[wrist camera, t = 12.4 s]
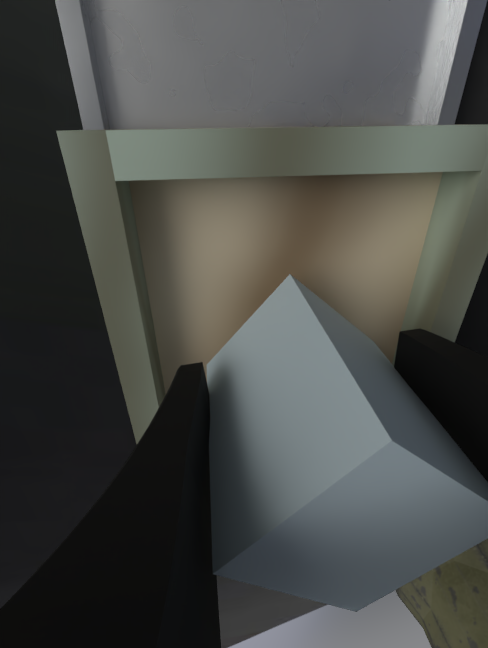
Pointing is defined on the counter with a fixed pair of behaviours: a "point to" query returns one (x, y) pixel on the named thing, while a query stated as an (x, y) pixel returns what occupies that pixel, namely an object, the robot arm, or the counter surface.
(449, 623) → the thermos
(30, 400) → the counter surface
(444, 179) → the shallow open tray
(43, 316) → the counter surface
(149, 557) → the robot arm
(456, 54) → the rail
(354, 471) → the block
